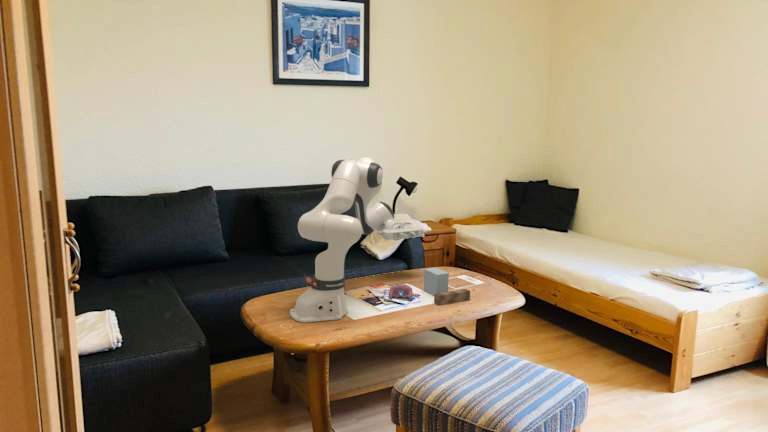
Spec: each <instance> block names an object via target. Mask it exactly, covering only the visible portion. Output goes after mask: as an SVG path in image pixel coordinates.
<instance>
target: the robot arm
mask: <svg viewBox="0 0 768 432" xmlns="http://www.w3.org/2000/svg"><path fill="white" fill-rule="evenodd" d="M383 173H384V172H383V168H382V166H381V165H380V164H379V163H377V162H375V161H374V159H372V158H371V157H367V156H364V157H363V156H362V157H360V158H358V159H357V160H356V159H353V160H352V159H350V160H349V159H348V160H345V159H339V160H336V161H335V162H333V164H332V167H331V180H330V183H329V185H328V189H327V191H326V193H325V195H324V198H323V199H322V200H321V201H320V202H319V203H318V204H317V205H316V206H315V207H313V208H312V209H311V210H309V211H307V212H305V213H303V214H302V215H301V216H300V217H299V220H298V222H297V230H298V233H299V235H300V237H302V238H303V239H307V240H309V241H314V242H321V243H327V244H328V245H327V249H326V250H324V251H321V252H320V253H318V254H317V255H316V257H315V259H314V268H315V270H314V271H315V273H314V277H313V278H311V277H309V276H308V277H306V283H308V284H310V286H309V288H308V289H305V291H304V292H302V293H301V294H300V295H299V296H298V297H297V298H296V302H295V307H294V308H291V309H290V310H289V316H290V317H291V318H292V319H293V320H295V321H297V322H300V323H304V324H305V323H313V322H322V321H323V322H325V321H335V320H342V319H343V316H345V315H346V314H348V312H349V311H348V306H347V304H346V303H347V302H346V296H345V295H346V294H345V290H346V277H345V259H346V255H347V253H348V251H349V249H350V248H351V247H352V246H353V245H354V244H356V243H357V242H358V241H359V240H360V239H361V237H362V235H365V236H367V235H368V236H370V235H371V234H373V232H374V231H376V232H377V233H378V235H380V236H381V239H383V240H387V241H391V240H392V241H401V240H402V239H406V240H407V239H410V238H411V239H416V238H419V237H420V238H421V237H423V236H424V229H423V228H422V227H420V226H418V225H415V224H413V223H412V222H402V221H398V220H395V214H394V211H393V208H392V207H391V206H390V205H389V204H388V203H386V202H383V201H377V202H376V203H374V204H373V205H372V206H370V207H369V208H368V205H369V204H370V203H371V201H372V200H373V199H374V198H375V197H376V196H377V195H378V194H379V193H380V191H381V189H382V186H383V185H382V184H383V182H382V181H383V177H384V175H383ZM352 206H353V207H354V212H355V214H354V215H355V217H353V216H350V215H347V214H343V213H345V212H347V211H349V210H350V209H351V208H352Z"/></svg>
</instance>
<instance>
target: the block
mask: <svg viewBox="0 0 768 432" xmlns="http://www.w3.org/2000/svg"><path fill="white" fill-rule="evenodd" d="M423 273H424V276H423V277H424V278H423V292H425V293H427V294H429V295H431V296H433V297H434V294H437V293H443V292H449V287H448V285H449V280H450V279H449V278H450V277H449V275H450V274H449V272H447V271H445V270H443V269H440V268H438V267H429V268H424V270H423ZM448 279H449V280H448Z"/></svg>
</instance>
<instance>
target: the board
mask: <svg viewBox="0 0 768 432" xmlns="http://www.w3.org/2000/svg"><path fill="white" fill-rule="evenodd" d="M433 297H434V298H433V300H434V301H433V303H434V305H437V306H443V305H449V304H455V303H460V302H467V301H470V299H471V290H469V289H467V288H463V289H458V290H451V291H448V292H443V293H437V294H434V296H433Z"/></svg>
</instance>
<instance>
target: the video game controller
mask: <svg viewBox="0 0 768 432" xmlns="http://www.w3.org/2000/svg"><path fill="white" fill-rule="evenodd" d="M400 292H402V293H401V294H400ZM400 295H401V297H402V298H403V299H406V298H407V297H408V299H409V301H412V299H413V288H412V287H411V286H410V285H407V284H404V283H402V284H401V283H397V284H393V285H391V287H390V288H389V292H388V299H389V298H390V299H391V298H392V299H393V296H394V297H395V298H396V297H398V298H400ZM390 299H389V300H390ZM392 299H391V300H392Z"/></svg>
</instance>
